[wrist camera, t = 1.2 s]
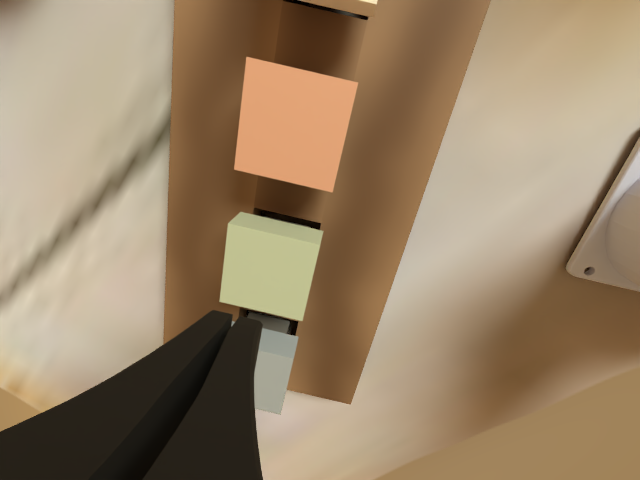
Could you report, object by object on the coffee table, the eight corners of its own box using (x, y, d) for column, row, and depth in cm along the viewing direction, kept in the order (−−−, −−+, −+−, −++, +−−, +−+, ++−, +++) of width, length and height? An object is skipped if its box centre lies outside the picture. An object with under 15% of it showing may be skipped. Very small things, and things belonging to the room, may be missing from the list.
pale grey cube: (303, 314, 19) (293, 358, 15) (292, 364, 20) (280, 414, 17) (239, 299, 19) (215, 340, 15) (232, 350, 20) (208, 397, 17)
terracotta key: (356, 88, 14) (358, 82, 11) (336, 174, 16) (332, 192, 12) (271, 68, 14) (246, 56, 11) (259, 156, 16) (234, 169, 12)
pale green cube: (326, 217, 16) (320, 244, 13) (311, 281, 18) (302, 321, 15) (253, 200, 16) (227, 223, 13) (244, 265, 18) (219, 301, 15)
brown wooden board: (509, -98, 13) (537, -133, 11) (350, 379, 22) (350, 404, 20) (206, -168, 13) (181, -216, 11) (178, 339, 22) (162, 360, 20)
